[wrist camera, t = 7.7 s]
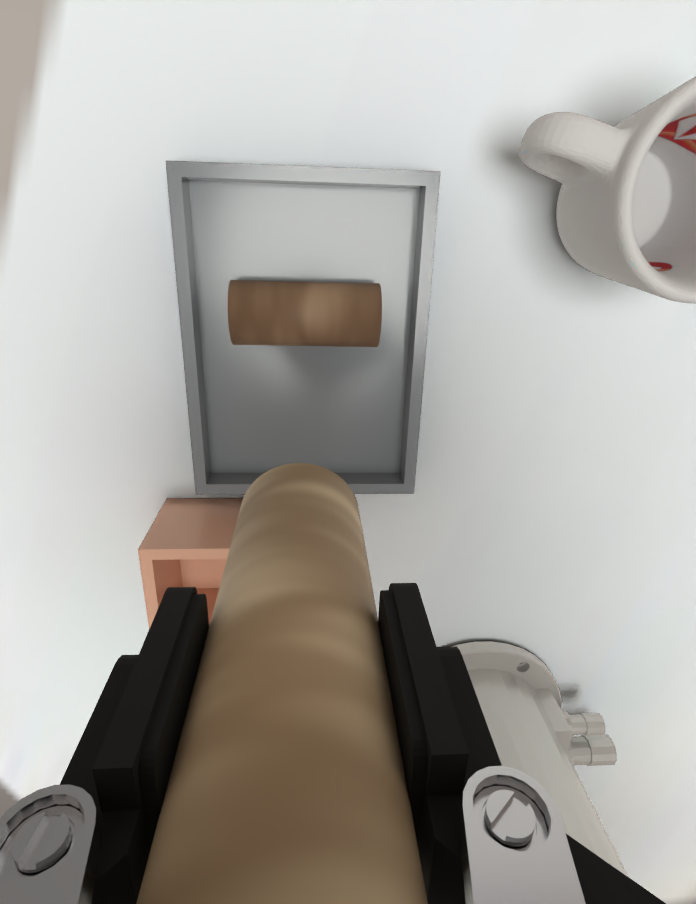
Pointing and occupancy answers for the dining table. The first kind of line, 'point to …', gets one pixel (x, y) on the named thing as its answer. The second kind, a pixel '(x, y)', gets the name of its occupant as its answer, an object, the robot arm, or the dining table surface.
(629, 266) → the cup
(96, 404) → the dining table surface
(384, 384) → the tray
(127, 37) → the dining table surface
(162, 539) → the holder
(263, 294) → the walnut dowel
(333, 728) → the oak dowel
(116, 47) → the dining table surface
